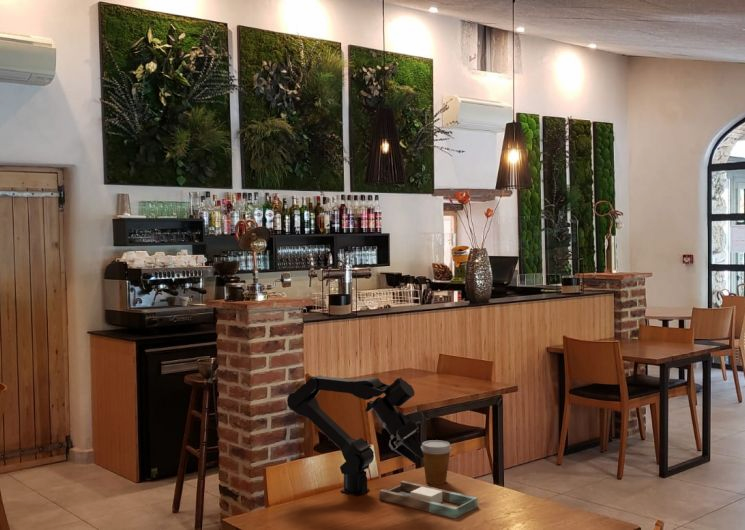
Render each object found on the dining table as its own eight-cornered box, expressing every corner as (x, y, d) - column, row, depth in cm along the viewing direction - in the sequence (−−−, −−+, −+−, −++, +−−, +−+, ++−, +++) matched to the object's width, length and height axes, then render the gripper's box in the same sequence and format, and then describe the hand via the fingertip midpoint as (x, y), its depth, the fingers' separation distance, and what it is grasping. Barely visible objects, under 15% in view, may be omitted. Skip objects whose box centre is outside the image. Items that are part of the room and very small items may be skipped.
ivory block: (410, 503, 236) (410, 491, 236) (422, 498, 241) (422, 486, 240) (430, 508, 232) (430, 496, 232) (442, 503, 236) (442, 491, 236)
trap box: (379, 499, 239) (379, 490, 239) (403, 488, 249) (403, 480, 248) (455, 518, 223) (455, 509, 223) (477, 506, 233) (477, 497, 233)
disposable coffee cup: (449, 487, 250) (449, 448, 249) (418, 485, 252) (418, 446, 251) (452, 477, 259) (452, 440, 259) (422, 476, 261) (423, 439, 261)
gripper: (416, 393, 234) (448, 438, 230) (405, 407, 251) (435, 450, 247) (384, 414, 230) (416, 461, 226) (376, 427, 247) (406, 471, 243)
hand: (419, 460), depth 236 cm, fingers open, 9 cm apart
